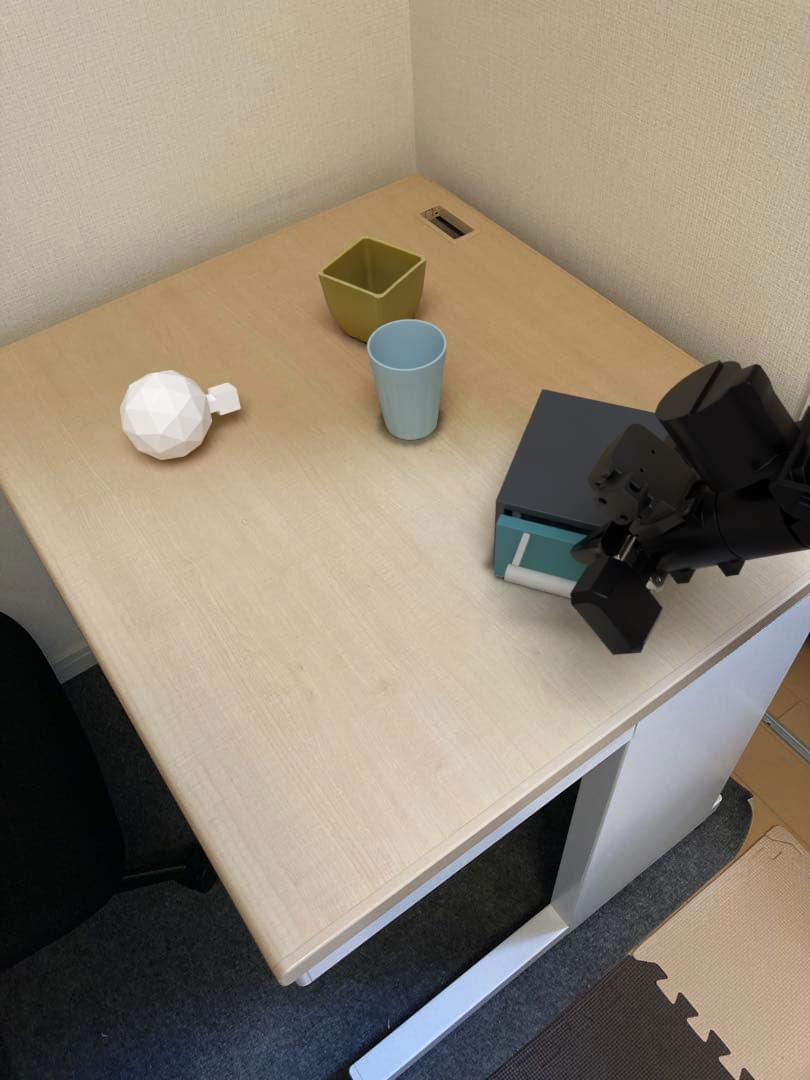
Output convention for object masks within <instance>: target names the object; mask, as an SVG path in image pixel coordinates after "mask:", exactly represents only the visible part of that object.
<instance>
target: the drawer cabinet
mask: <svg viewBox="0 0 810 1080" xmlns="http://www.w3.org/2000/svg"><path fill="white" fill-rule="evenodd" d="M536 400H537V401H536V403H535V406H534V407H533V410H532V412H531V415H530V417H529V419H528V422H527V425H526V427H525V430H524V431H523V434H522V436H521V439H520V442H519V443H518V446H517V448H516V450H515V453H514V456H513V457H512V461H511V463H510V465H509V468H508V470H507V473H506V475H505V477H504V480H503V482H502V484H501V487H500V490H499V492H498V494H497V496H496V499H495V508H494V509H495V510H494V532H493V534H494V535H493V537H494V538H493V554H492V555H493V559H492V566H494V565H495V542H496V523H497V521H498V519H499V516H500V514H503V515H507V516H511V517H512V511H516V512H520V513H524V514H528V515H532V516H536V517H540V518H544V519H548V520H552V521H556V522H560V523H564V524H568V525H572V526H576V527H580V528H584V529H588V530H592V531H596V530H597V529H599V528H600V527H602V526H603V525H605V524H606V523H608V522H609V521H611V520H612V519H610V518H609V517H608V516H606V515H605V514H604V513H603V512H601V511H600V510H599V509H597V508H596V507H595V505H594V502H593V499H594V497H595V496H596V492H595V491H593V490H592V488H591V487H590V485H589V483H588V475H589V473H590V472H591V470H592V469H593V468H594V466H595V465H596V463H597V462H598V460H599V459H600V457H601V456H602V454H603V453H604V450H605V449H606V448H607V447H608V446H609V445H610V444H611V443H612V442H613V441H614V440H615V439H616V438H617V437H618V436H619V435H620V434H621V433H622V432H623V431H624V430H625V429H626V428H627V427H628V426H630V425H631V424H635V423H636V424H640V425H643V426H644V427H646V428H647V429H648V430H649V431H651V432H652V433H653V434H655V435H656V436H657V437H658V438H660V439H661V440H662V441H664V439H665V437H666V436H667V434H668V432H667V431H666V430H665V428H664V427H663V426H662V424H661V423H660V421H659V420H658V419H657V417H656V416H655V411H654V412H653V411H648V410H644V409H639V408H635V407H630V406H626V405H625V406H624V405H619V404H616V403H611V402H606V401H601V400H597V399H592V398H587V397H583V396H577V395H572V394H568V393H563V392H559V391H553V390H549V389H544V388H542V389H541V391H540V393H539V396H538V398H537V399H536Z"/></svg>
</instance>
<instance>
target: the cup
mask: <svg viewBox="0 0 810 1080" xmlns="http://www.w3.org/2000/svg"><path fill="white" fill-rule="evenodd" d="M447 345H448V343H447V338H446V336H445V333H444V332H443V330H441V329H440V328H439V327H438V326H436V325H435V324H433V323H431V322H428V321H425V320H421V319H416V318H415V319H414V318H413V319H404V320H397V321H393V322H390V323H387V324H385V325H383V326H381V327H379V328H378V329H377V330H375V331H374V332H373V333H372V335H371V336H370V338H369V340H368V343H367V342H366V350H367V355H368V359H369V362H370V363H369V364H370V368H371V371H372V375H373V379H374V383H375V388H376V392H377V396H378V400H379V405H380V408H381V413H382V416H383V421H384V425H385V427H386V429H387V431H388V432H389V433H390V434H391V435H392V436H393V437H396V438H397V439H400V440H404V441H415V440H421V439H423V438H425V437H428V436H429V435H430V434H431V435H432V433H433V432H434V430H435V429H436V428H437V425H438V420H439V419H438V418H439V413H440V412H439V411H440V405H441V404H440V403H441V394H442V385H443V377H444V369H445V368H444V367H445V362H446V355H447Z"/></svg>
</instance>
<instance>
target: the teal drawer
mask: <svg viewBox="0 0 810 1080" xmlns="http://www.w3.org/2000/svg"><path fill="white" fill-rule="evenodd" d="M593 532H594V531H592V530H588V529H584V528H580V527H576V526H572V525H568V524H564V523H560V522H556V521H552V520H548V519H544V518H540V517H536V516H532V515H528V514H524V513H520V512H516V511H512V517H511V516H507V515H503V514H500V516H499V519H498V521H497V523H496V542H495V565H493V566H494V568H493V569H494V570H493V576H496V577H501V578H503V581H505V582H508V583H512V584H516V585H518V586H519V585H520V586H524V587H527V588H529V589H534V590H538V591H542V592H546V593H549V594H553V595H556V596H561V597H564V598H568V599H571V596H570V593H571V591H572V590H573V588H574V586H575V585H576V583H577V581H578V580H579V578H580V577H581V575H582V573H583V572H584V570H585V568H586V567H587V565H584V564H582V563H579V562H577V561H575V560H574V558H573V557H572V556H571V555H570V551H571V549H572V547H573V546H574V545H575V544H576V543H578V542H579V541H581V540H582V539H584V538H585V537H587V536H588V535H590V534H591V533H593Z"/></svg>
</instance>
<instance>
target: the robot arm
mask: <svg viewBox="0 0 810 1080" xmlns="http://www.w3.org/2000/svg"><path fill="white" fill-rule="evenodd" d="M654 413H655V416H656V417H657V419H658V420H659V421H660V423H661V424H662V426H663V427H664V428H665V430H666V431H667V432H668V434H667V436H666V437H665V439H664V441H662V440H661V439H660V438H658V437H657V436H656V435H655V434H653V433H652V432H651V431H649V430H648V429H647V428H646V427H644V426H643V425H640V424H636V423H635V424H631V425H630V426H628V427H627V428H626V429H625V430H624V431H623V432H622V433H621V434H620V435H619V436H618V437H617V438H616V439H615V440H614V441H613V442H612V443H611V444H610V445H609V446H608V447H607V448H606V449H605V450H604V453H603V454H602V456H601V457H600V459H599V460H598V462H597V463H596V465H595V466H594V468H593V469H592V470H591V472H590V473H589V475H588V483H589V485H590V487H591V488H592V490H593V491H595V492H596V496H595V497H594V499H593V502H594V505H595V507H596V508H597V509H599V510H600V511H601V512H603V513H604V514H605V515H606V516H608V517H609V518H610V519H612V520H611V521H609V522H608V523H606V524H605V525H603V526H602V527H600V528H599V529H597V530H596V531H594V532H593V533H591V534H590V535H588V536H587V537H585V538H584V539H582V540H581V541H579V542H578V543H576V544H575V545H574V546H573V547H572V549H571V551H570V555H571V556H572V557H573V558H574V560H575V561H577V562H579V563H582V564H584V565H587V567H586V568H585V570H584V572H583V573H582V575H581V577H580V578H579V580H578V581H577V583H576V585H575V586H574V588H573V590H572V591H571V593H570V596H571V598H570V604H571V607H573V608H574V610H575V611H576V612H577V614H579V616H580V617H581V618H582V620H583V621H584V622H585V623H586V624H587V626H588V627H589V628H590V629H591V630H592V631H593V633H594V634H595V636H597V638H598V639H599V640H600V641H601V642H602V644H603V645H604V646H605V647H606V648H607V650H608V651H609V652H610V653H611V655H613V656H617V655H629V654H641V653H642V652H643V650H644V648H645V646H646V644H647V642H648V640H649V639H650V636H652V635H651V634H652V633H653V631H654V629H655V627H656V625H657V623H658V621H659V620H660V618H661V614H662V610H663V606H662V605H661V604H660V602H659V600H657V598H656V597H655V596H654V595H653V593H652V592H651V591H652V590H654V591H655V592H656V593H659V592H662V591H663V589H664V588H665V585H666V583H668V580H669V578H670V577H671V578H672V579H673V581H674V582H675V584H676V585H683V584H689V583H690V582H691V581H692V578H693V576H694V574H695V572H696V570H698V569H704V568H710V567H715V566H717V567H718V568H719V569H720V571H721V572H722V574H723V575H724V576H725V578H727V577H728V578H729V577H734V576H740V573H741V571H742V569H743V567H744V565H745V563H746V561H750V560H755V559H756V560H758V559H762V558H767V557H769V558H770V557H774V556H781V555H786V554H792V553H798V552H803V551H809V550H810V404H809V405H807V407H806V409H805V411H804V413H803V414H802V417H801V419H799V420H796V421H795V420H794V419H793V417H792V415H791V414H790V413H789V411H788V409H786V407H785V405H784V404H783V402H782V401H781V399H780V397H778V395H777V393H776V392H775V390H774V387H773V384H772V380H771V379H770V377H769V376H768V374H767V373H766V371H765V370H764V368H763V367H762V365H760V364H758V363H753V364H750V365H749V366H746V367H744V368H743V367H742V365H741V364H740V362H737V361H736V360H728V361H726V360H725V361H721V360H719V359H718V360H715V361H712V362H710V363H707V364H706V365H703V366H701V367H699V368H697V369H696V370H694V371H692V372H691V373H689V374H688V375H686V376H685V377H684V378H682V379H681V380H679V381H678V382H677V383H675V385H673V386H672V387H671V388H670V389H669V390H668V391H667V392H666V393H665V394H664V396H663V397H662V398H661V399H660V401H659V402H658V404H657V405H656V408H655V411H654Z"/></svg>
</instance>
